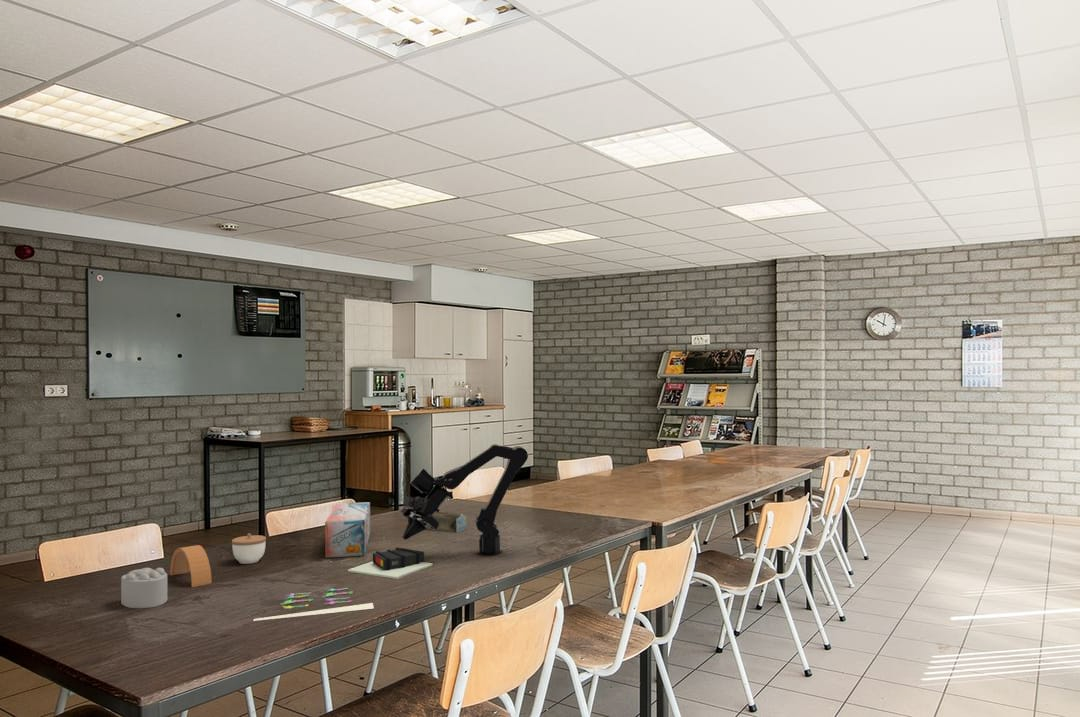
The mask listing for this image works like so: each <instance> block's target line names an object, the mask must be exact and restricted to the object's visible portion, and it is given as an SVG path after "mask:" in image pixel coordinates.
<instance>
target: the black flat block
mask: <svg viewBox="0 0 1080 717" xmlns="http://www.w3.org/2000/svg"><path fill="white" fill-rule="evenodd" d="M372 561H373V563H374V564H376V565H377V566H379V567H380V568H382V569H386V570H390V568H396V567H401V568H404V567H405V566H406V565H410V564H420V562H424V561H425V551H421V550H415V549H409V548H403V547H395V549H392V550H391V549H387V550H386V551H381V552H380V551H378V550H377V551H375V552H373V553H372Z"/></svg>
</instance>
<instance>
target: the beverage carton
mask: <svg viewBox="0 0 1080 717" xmlns="http://www.w3.org/2000/svg"><path fill="white" fill-rule="evenodd" d="M433 517H434V518H435V519H436V520H437V521H438V522H439V527H438V529H437V530H436V531H439V532H449V533H459V532H461V531H465V530H467V515H466V514H463V513H449V512H441V511H439V512H438V513H437V512H435V513H434V514H433ZM426 528H427V529H426V531H427V530H428V531H433V530H432V529H431V526H430V525H429V524H428V525H427V526H426Z"/></svg>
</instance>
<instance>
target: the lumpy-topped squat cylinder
mask: <svg viewBox="0 0 1080 717" xmlns="http://www.w3.org/2000/svg"><path fill="white" fill-rule="evenodd" d="M120 580H121V584H120V587H121V588H120V591H121V592H120V598H121V600H120V601H121V605H122V606H124V607H126V608H129V609H147V608H154V607H158V606H161V605H163V604H165V603H166V602H167V601H168V573H167V572H166V571H165V569H164V568H163V567H157V568H155V569H153V568H151V567H142V568H140V569H134V570H131V571H129V572H128V573H126V574H124V575H122V576H121V578H120Z"/></svg>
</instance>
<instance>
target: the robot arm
mask: <svg viewBox="0 0 1080 717" xmlns="http://www.w3.org/2000/svg"><path fill="white" fill-rule="evenodd" d="M496 457H497V458H503V459H506V460H507V461H506V466H505V469H504V471H503V473H502V475H501V476H500V478H499V480H498V483H497V484H496V486H495V489H494V490H493V492H492V493H491V496H490V498H489V500H488V502H487V504H486V505H485V506H482V505H480V506H479V508H478V512H477V513H475V515H474V517H475V525H476V528H477V529H476V530H478V531H479V532H480V533H481V534H480V535H479V540H478V546H479V547H478V548H479V549H478V550H479V551H478V552H477V554H480V555H488V556H495V555H498V554H500V553H502V552H503V549H501V534H500V530H499V528H498V526H497V524H495V520H496V517H497V512H498V509H499V507H500V505H501V503H502V501H503V499H504V497H505V495H506V493H507V491H508V490H509V487H510V486H511V484H512V481H513V480H514V478H515V476H516V474H517V473H518V472H519V471H520V470H521V468H522V467H523V466H524V464H525V463H526V462H527V460H528V458H529V453H528V452H527V450H526V449H525V448H523V447H522V446H520V445H516V446H513V447H509V446H504V445H499V444H496V443H494V444H492V445H490V447H488V448H487V449H485V450H483V451H482V452H481V453H479V454H477V455H476V456H474V457H473V458H472V459H470V460H469V461H467V462H465V463H464V464H463V465H460V466H458V467H454V468H452V469H450V470H448V471H446V472H445V473H444V474H443V475H440V476H435V477H434V476H433V475H432V474H430V473H429V472H428V470H426V469H425V468H424V467H423V468H422V469H421V470H420V471H419V472H418V473H417V474H416V475H415V476H414V477H413V479H412V480H411V481H410V482H409V484H410V485H411V486H413V488H415V489H416V490H418V491H419V493H421V494H424V493H426V494H427V495H426V497H425V498H424V497H421V496H416V497H412V496H408V495H406V496H405V499H404V501H403V503H402V505H403V506H406V507H403V508H402V509H401V511H400V514H401V515H403V517H404V518H406V519H407V525H406V527H405V530H404V532H403V535H402V539H403V540H408V539H409V538H411V537H414V536H415V535H417V534H419V533H421V532H424V531H427V528H426V526H427V525H428V524H429V525H430V526H431V529H432V530H431V531H436V530H437V529H438V527H439V522H438V521H437V520H436V519H435V518H434V517H433V514H434V513H435V512H437V513H438V512H441V511H440V509H439V508H440V507H441V505H443V503H444V502H445V500H446V499H448V501H451V500H453V499H454V496H453V491H449V490H455V489H457V487H459V486H460V485H461V484H462V483H463V482H464V481H465V480H466V479H467V477H468V476H469V475H471V474H472V473H474V472H475V471H477V470H478V469H480V468H482V467H483V466H484V465H486V464H487V463H488V462H490V461H492V460H493V459H495V458H496Z"/></svg>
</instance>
